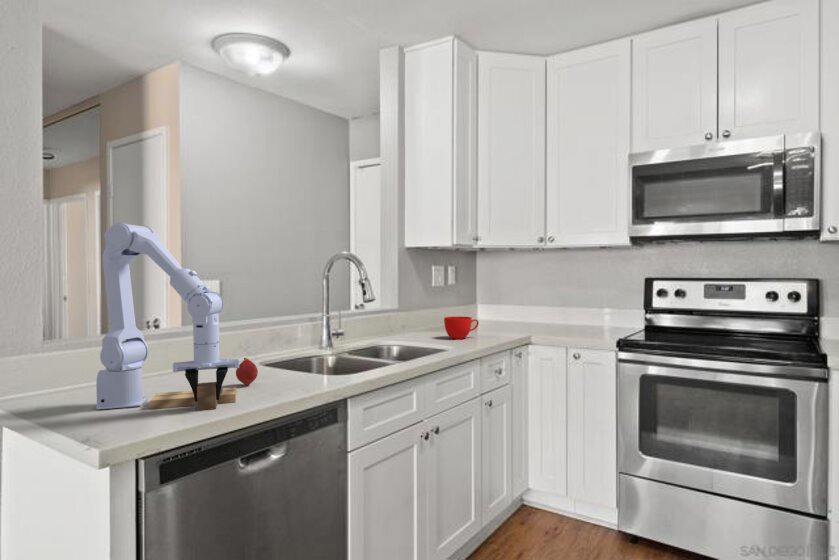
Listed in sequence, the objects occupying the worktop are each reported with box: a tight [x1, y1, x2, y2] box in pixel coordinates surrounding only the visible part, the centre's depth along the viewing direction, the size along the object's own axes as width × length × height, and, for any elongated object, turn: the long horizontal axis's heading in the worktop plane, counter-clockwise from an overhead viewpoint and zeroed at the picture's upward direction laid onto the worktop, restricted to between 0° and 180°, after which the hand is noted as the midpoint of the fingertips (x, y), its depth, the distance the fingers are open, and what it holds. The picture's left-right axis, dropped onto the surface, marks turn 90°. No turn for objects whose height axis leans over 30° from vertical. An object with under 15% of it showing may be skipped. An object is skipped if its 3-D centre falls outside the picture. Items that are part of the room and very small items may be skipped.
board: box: [149, 386, 238, 410], centre depth 128 cm, size 19×8×2 cm, turn 108°
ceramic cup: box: [443, 316, 479, 340], centre depth 244 cm, size 13×17×10 cm
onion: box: [235, 357, 258, 387], centre depth 146 cm, size 6×6×8 cm
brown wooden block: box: [196, 381, 218, 411], centre depth 124 cm, size 4×9×6 cm, turn 18°
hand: (207, 399), depth 122 cm, fingers closed on brown wooden block, 4 cm apart
